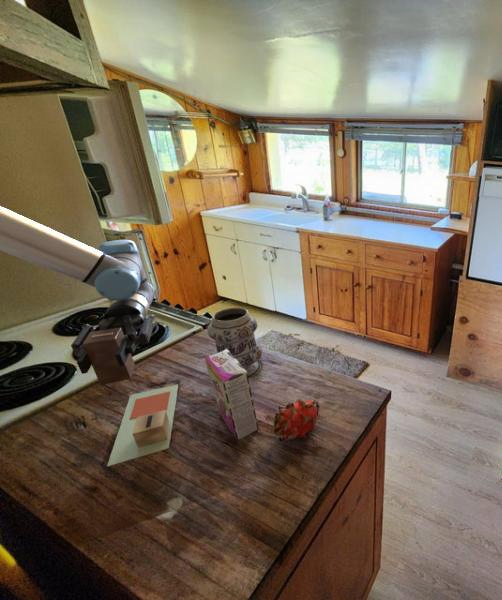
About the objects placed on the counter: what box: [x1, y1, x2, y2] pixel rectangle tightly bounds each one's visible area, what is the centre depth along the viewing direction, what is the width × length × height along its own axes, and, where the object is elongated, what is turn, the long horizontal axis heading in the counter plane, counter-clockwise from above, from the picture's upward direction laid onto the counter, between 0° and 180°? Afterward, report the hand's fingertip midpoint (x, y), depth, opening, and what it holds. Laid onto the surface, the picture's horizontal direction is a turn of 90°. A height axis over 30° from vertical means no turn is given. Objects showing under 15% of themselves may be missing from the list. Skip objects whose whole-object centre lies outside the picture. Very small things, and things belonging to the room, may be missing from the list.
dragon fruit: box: [272, 398, 320, 442], centre depth 71 cm, size 8×8×12 cm
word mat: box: [106, 383, 179, 468], centre depth 73 cm, size 10×22×1 cm, turn 27°
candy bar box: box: [204, 349, 259, 441], centre depth 70 cm, size 11×5×16 cm, turn 45°
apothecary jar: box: [207, 306, 263, 379], centre depth 87 cm, size 12×12×18 cm
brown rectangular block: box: [83, 327, 136, 386], centre depth 67 cm, size 5×5×10 cm
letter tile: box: [132, 410, 170, 448], centre depth 68 cm, size 5×5×4 cm
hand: (101, 363), depth 63 cm, fingers closed on brown rectangular block, 5 cm apart
